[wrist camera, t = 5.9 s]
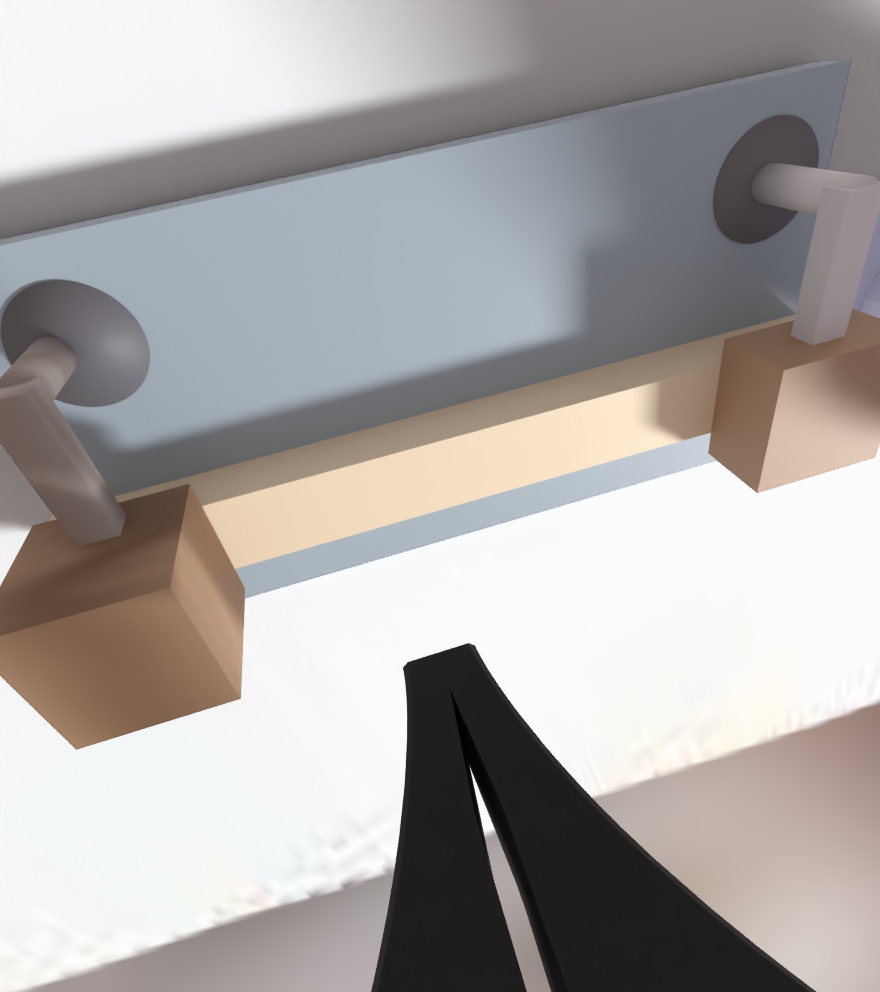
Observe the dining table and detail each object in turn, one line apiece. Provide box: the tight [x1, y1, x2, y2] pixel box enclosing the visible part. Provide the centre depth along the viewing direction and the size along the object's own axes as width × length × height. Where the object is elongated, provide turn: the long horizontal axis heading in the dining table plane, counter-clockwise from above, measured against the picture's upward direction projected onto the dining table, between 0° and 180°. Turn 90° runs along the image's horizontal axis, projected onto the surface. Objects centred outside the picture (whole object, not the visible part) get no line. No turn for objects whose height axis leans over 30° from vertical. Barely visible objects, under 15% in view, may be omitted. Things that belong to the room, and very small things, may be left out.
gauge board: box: [0, 59, 880, 598], centre depth 16 cm, size 24×12×5 cm, turn 98°
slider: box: [0, 337, 245, 750], centre depth 14 cm, size 4×8×6 cm, turn 8°
